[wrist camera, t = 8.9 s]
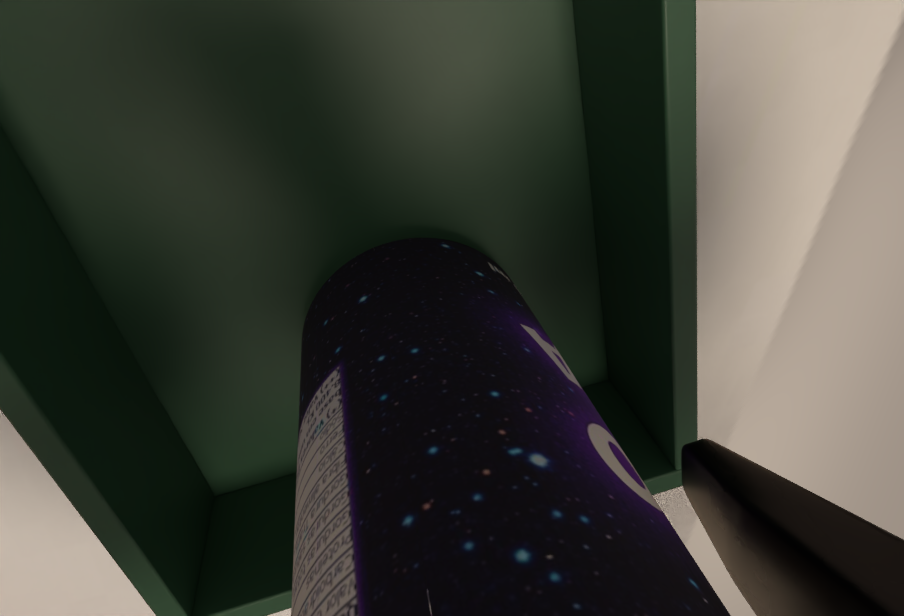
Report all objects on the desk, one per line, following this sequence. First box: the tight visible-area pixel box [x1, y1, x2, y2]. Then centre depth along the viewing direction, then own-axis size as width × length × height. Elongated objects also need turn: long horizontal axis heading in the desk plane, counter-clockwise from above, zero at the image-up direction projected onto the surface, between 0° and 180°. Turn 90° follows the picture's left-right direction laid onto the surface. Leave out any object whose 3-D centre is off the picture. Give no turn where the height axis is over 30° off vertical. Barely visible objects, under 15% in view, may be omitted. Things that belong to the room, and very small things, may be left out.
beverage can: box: [291, 238, 730, 616], centre depth 11 cm, size 6×6×12 cm
